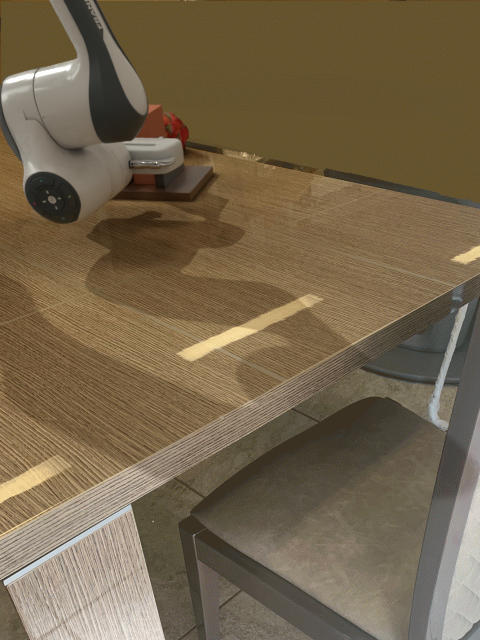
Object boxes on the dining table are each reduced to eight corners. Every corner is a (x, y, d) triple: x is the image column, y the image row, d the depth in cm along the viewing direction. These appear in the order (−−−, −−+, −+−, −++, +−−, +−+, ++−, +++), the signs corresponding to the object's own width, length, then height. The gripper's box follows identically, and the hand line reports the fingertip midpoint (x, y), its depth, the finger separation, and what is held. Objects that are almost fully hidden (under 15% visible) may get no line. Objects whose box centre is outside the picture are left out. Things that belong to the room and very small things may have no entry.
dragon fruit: (161, 170, 128) (172, 163, 138) (193, 142, 125) (201, 137, 136) (131, 133, 124) (144, 128, 135) (163, 103, 122) (174, 101, 132)
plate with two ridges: (87, 198, 109) (82, 174, 107) (121, 171, 122) (117, 149, 119) (190, 202, 107) (187, 177, 105) (213, 174, 120) (211, 151, 118)
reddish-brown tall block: (134, 183, 111) (122, 114, 104) (149, 170, 117) (139, 104, 110) (157, 184, 110) (146, 114, 104) (170, 171, 117) (161, 104, 110)
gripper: (166, 143, 90) (192, 121, 101) (27, 140, 92) (68, 118, 103) (172, 189, 94) (197, 163, 105) (39, 185, 96) (77, 160, 107)
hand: (132, 141), depth 104 cm, fingers open, 8 cm apart
